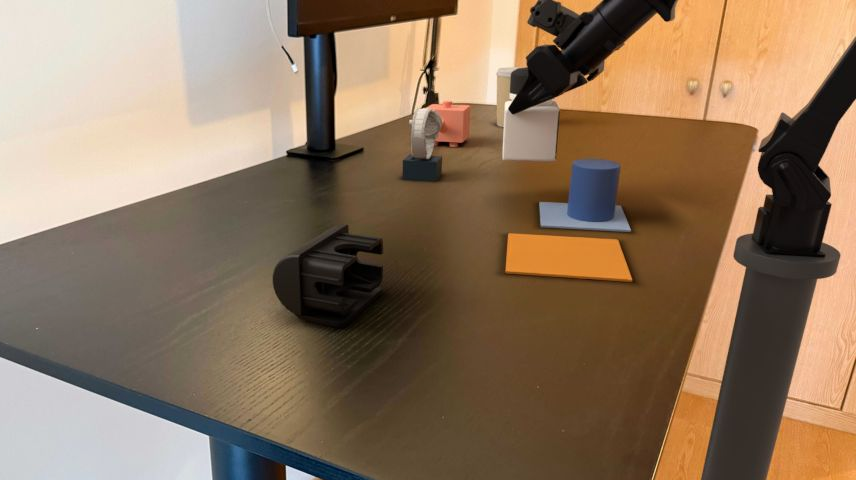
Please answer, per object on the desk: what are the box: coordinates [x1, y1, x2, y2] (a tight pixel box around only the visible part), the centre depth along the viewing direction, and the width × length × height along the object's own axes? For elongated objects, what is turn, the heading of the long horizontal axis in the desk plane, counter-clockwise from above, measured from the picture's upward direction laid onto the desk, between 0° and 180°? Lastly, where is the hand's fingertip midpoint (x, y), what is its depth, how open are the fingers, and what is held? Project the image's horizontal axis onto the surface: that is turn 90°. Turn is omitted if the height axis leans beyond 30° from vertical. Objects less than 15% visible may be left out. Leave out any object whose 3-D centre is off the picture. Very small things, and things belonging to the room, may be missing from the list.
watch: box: [402, 107, 443, 182], centre depth 114 cm, size 6×8×11 cm
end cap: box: [272, 224, 384, 329], centre depth 69 cm, size 10×7×7 cm
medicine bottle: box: [502, 66, 561, 162], centre depth 98 cm, size 7×7×12 cm
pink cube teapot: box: [425, 100, 471, 148], centre depth 139 cm, size 8×12×8 cm, turn 161°
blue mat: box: [538, 201, 632, 233], centre depth 95 cm, size 11×11×1 cm
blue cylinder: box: [567, 158, 621, 222], centre depth 94 cm, size 6×6×7 cm
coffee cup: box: [495, 66, 525, 128], centre depth 156 cm, size 9×9×12 cm
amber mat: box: [505, 232, 633, 283], centre depth 81 cm, size 13×13×1 cm
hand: (521, 107), depth 98 cm, fingers closed on medicine bottle, 8 cm apart
